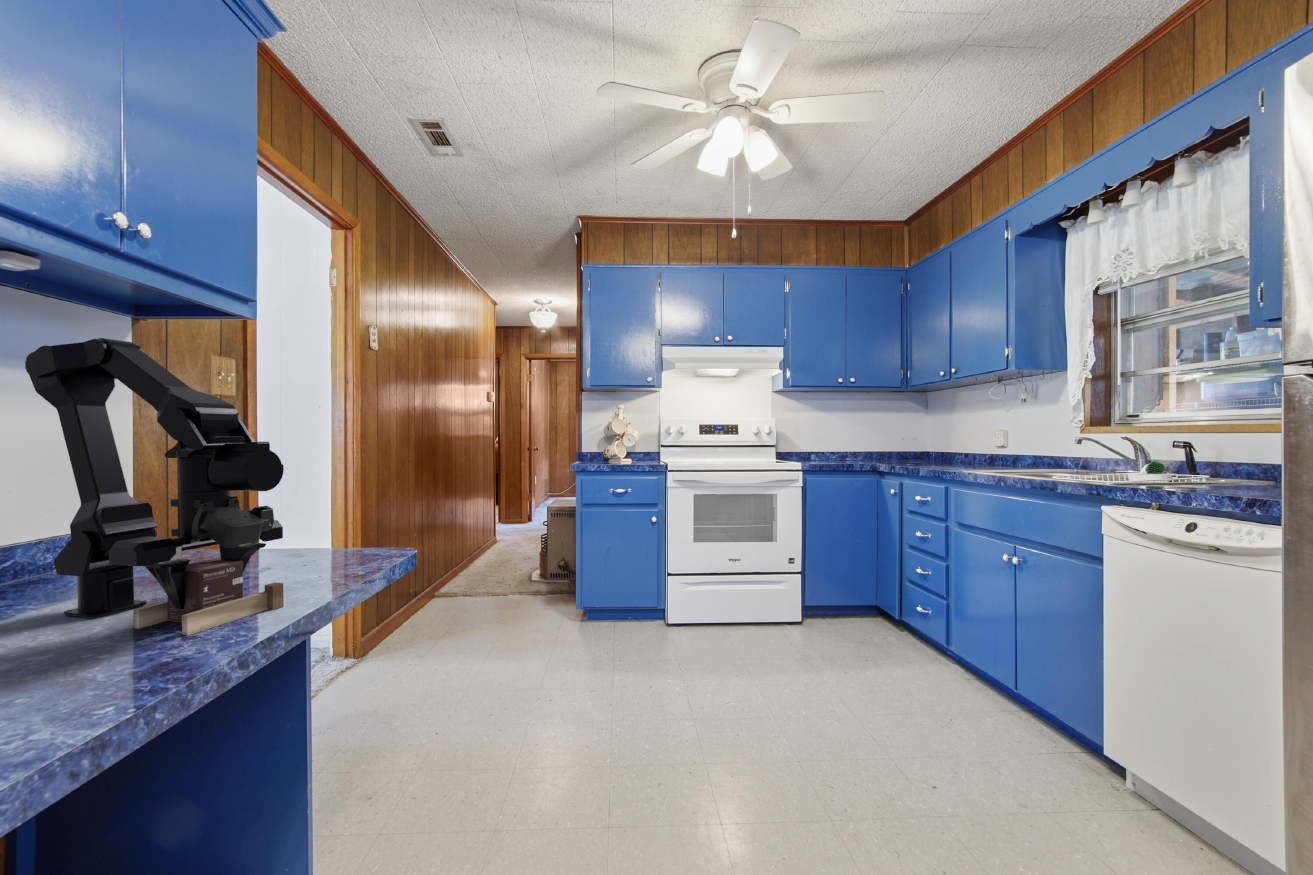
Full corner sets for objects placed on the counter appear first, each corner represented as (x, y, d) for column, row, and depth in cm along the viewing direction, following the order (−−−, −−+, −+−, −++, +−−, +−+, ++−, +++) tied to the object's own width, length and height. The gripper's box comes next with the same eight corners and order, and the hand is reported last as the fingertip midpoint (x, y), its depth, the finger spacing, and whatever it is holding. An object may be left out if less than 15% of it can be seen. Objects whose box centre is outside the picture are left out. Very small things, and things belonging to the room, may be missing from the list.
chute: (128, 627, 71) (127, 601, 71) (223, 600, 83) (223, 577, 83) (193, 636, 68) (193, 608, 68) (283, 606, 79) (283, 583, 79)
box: (198, 626, 71) (198, 571, 71) (165, 621, 73) (166, 567, 73) (244, 611, 77) (244, 561, 77) (213, 608, 79) (213, 558, 79)
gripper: (166, 500, 64) (168, 631, 64) (309, 485, 81) (311, 587, 82) (105, 497, 67) (107, 622, 67) (255, 483, 85) (256, 581, 85)
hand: (206, 601), depth 75 cm, fingers closed on box, 6 cm apart
